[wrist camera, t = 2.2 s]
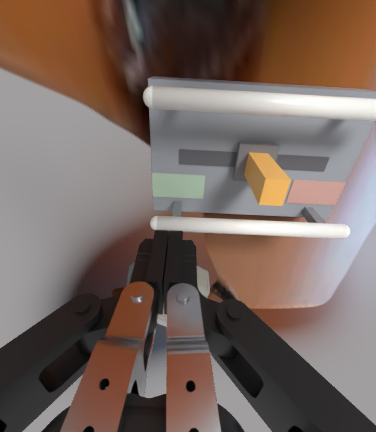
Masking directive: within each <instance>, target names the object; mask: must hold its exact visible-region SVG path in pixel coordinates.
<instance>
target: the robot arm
mask: <svg viewBox="0 0 376 432" xmlns="http://www.w3.org/2000/svg"><path fill="white" fill-rule="evenodd" d="M182 237H183V231H175V230H170V232H169V230H155V234H154V239H145V240H144V241H143V242H142V243H141V244H140V246H139V249H138V254H137V257H136V261H135V264H134V268H133V272H132V275H131V279H130V283H129V285H128V286H126V287H125V288H124V290H123V291H122V293H120V294H118V295H116V296H113V297H110V298H106V299H101V300H100V299H99V298H98V297H97V296H96V295H94V294H82V295H79V296H76V297H75V298H73V299H72V300H70V301H69V302H67V303H66V304H64V305H63V306H61V307H60V308H59V309H57V310H56V311H54V312H53V313H51V314H50V315H48V316H47V317H45V318H44V319H42V320H41V321H40V322H38V323H37V324H35V325H34V326H32V327H31V328H29V329H28V330H27V331H25V332H23V333H22V334H21V335H19V336H18V337H17V338H15V339H13V340H12V341H10V342H9V343H7V344H6V345H5V346H3V347H2V348H0V432H22V431H23V430H24V429H25V428H26V427H27V426H28V425H30V424H31V423H32V422H33V421H34V420H35V419H36V418H37V417H38V416H39V415H40V414H41V413H42V412H43V411H44V410H45V409H46V408H48V406H50V405H51V404H52V403H53V402H54V401H55V400H56V399H57V398H58V397H59V396H60V395H61V394H62V393H63V392H64V391H65V390H66V389H68V387H70V386H71V385H72V384H73V383H74V382H75V381H76V380H77V379H78V378H79V377H80V376H81V375H82V374H83V373H84V374H83V377H82V379H81V382H80V384H79V386H78V389H77V391H76V394H75V396H74V398H73V401H72V403H71V406H69V407H68V408H66V409H65V410H64V411H62V412H61V413H60V414H59V415H58V416H57V417H55V418H54V419H53V420H52V421H51V422H50V424H48V425H47V426H46V428H45V429H44V430H43V431H42V432H244V430H243V429H242V428H241V426H240V424H239V423H238V422H237V420H236V419H235V418H234V417H233V416H232V415H231V414H230V413H229V412H228V411H227V410H226V409H225V408H223V407H222V406H221V405H219V404H217V399H216V392H215V386H214V379H213V372H212V365H211V358H210V352H211V354H212V356H213V358H214V359H215V360H216V361H217V363H218V364H219V365H220V366H221V368H222V369H223V370H224V371H225V373H226V374H227V375H228V376H229V378H230V379H231V380H232V382H233V383H234V384H235V385H236V387H237V388H238V389H239V390H240V391H241V393H242V394H243V395H244V397H245V398H246V399H247V400H248V402H249V403H250V404H251V405H252V407H253V408H254V409H255V411H256V412H257V413H258V414H259V416H260V417H261V418H262V419H263V420H264V422H265V423H266V424H267V426H268V427H269V428H270V429H271V430H272V432H376V425H375V424H373V423H372V422H371V421H370V420H369V419H368V418H367V417H366V416H365V415H364V414H363V413H362V412H360V411H359V410H358V409H357V408H356V407H355V406H354V405H353V404H352V403H351V402H349V400H347V399H346V398H345V397H344V396H343V395H342V394H341V393H340V392H339V391H338V390H337V389H336V388H335V387H333V386H332V385H331V384H330V383H329V382H328V381H327V380H326V379H325V378H324V377H323V376H322V375H320V374H319V373H318V372H317V371H316V370H315V369H314V368H313V367H312V366H311V365H310V364H309V363H308V362H306V361H305V360H304V359H303V358H302V357H301V356H300V355H299V354H298V353H297V352H296V351H294V350H293V349H292V348H291V347H290V346H289V345H288V344H287V343H286V342H285V341H284V340H283V339H281V337H279V336H278V335H277V334H276V333H275V332H274V331H273V330H272V329H271V328H270V327H268V325H266V324H265V323H264V322H263V321H262V320H261V319H260V318H259V317H258V316H257V315H256V314H255V313H253V312H252V311H251V310H250V309H249V308H248V307H247V306H246V305H245V304H244V303H242V302H240V301H238V300H235V299H226V300H224V301H222V302H221V303H218V302H215V301H212V300H210V299H208V298H206V297H205V296H203V295H202V294H201V292H200V291H199V289H198V285H197V263H196V246H195V245H194V243H193V241H191V240H182ZM163 308H164V314H167V376H166V380H167V383H166V387H167V388H166V394H163V395H160V396H157V397H154V398H145V397H144V395H145V389H146V378H147V372H148V366H149V362H150V357H151V352H152V347H153V342H154V337H155V330H156V325H157V318H158V314H163Z"/></svg>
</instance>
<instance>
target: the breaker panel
mask: <svg viewBox="0 0 376 432" xmlns="http://www.w3.org/2000/svg"><path fill="white" fill-rule="evenodd" d="M143 100H144V103H145V104H146V105H147V106H148V107H149V117H150V140H151V164H152V189H153V190H152V191H153V210H158V211H173V212H172V216H154V217H153V218H152V219H151V220H150V226H151V228H152V229H154V230H169V231H170V230H175V231H183V232H200V233H223V234H245V235H268V236H291V237H314V238H337V239H344V238H346V237H348V236H349V234H350V229H349V227H348V226H346V225H344V224H330V223H326V222H325V221H324V220H323V219H322V218H328V217H329V215H330V213H331V211H332V209H333V207H334V205H335V204H336V202H337V200H338V198H339V196H340V194H341V192H342V190H343V188H344V186H345V184H346V180H347V178H348V176H349V174H350V172H351V170H352V168H353V166H354V164H355V162H356V160H357V158H358V156H359V154H360V151H361V149H362V147H363V145H364V143H365V141H366V139H367V137H368V135H369V133H370V131H371V129H372V127H373V125H374V123H375V122H376V91H373V90H367V89H358V88H342V87H325V86H308V85H291V84H275V83H258V82H241V81H224V80H208V79H191V78H174V77H157V76H153V77H151V78H148V87H147V88H146V89H145V91H144V93H143ZM239 142H256V143H275V144H279V145H280V149H279V153H278V156H277V160H276V163H277V164H278V165H279V166H280V168H281V169H282V170H283V171H284V172H285V173H286V175H287V176H288V177H289V178H290V179H291V182H290V185H289V188H288V191H287V194H286V197H285V200H284V203H283V206H271V205H259V204H258V202H257V200H256V198H255V196H254V194H253V192H252V190H251V188H250V186H249V184H248V182H245V181H233V178H232V177H233V172H234V166H235V160H236V155H237V149H238V143H239ZM182 212H201V213H223V214H245V215H267V216H288V217H305V219H306V220H307V221H308V222H286V221H264V220H242V219H220V218H195V217H181V213H182Z"/></svg>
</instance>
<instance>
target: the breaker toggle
mask: <svg viewBox="0 0 376 432" xmlns="http://www.w3.org/2000/svg"><path fill="white" fill-rule="evenodd" d="M279 149H280V145H279V144H275V143H256V142H239V143H238V149H237V155H236V160H235V166H234V172H233V177H232V178H233V181H245V182H248V184H249V186H250V188H251V190H252V192H253V194H254V196H255V198H256V200H257V202H258V204H259V205H271V206H283V203H284V200H285V197H286V194H287V191H288V188H289V185H290V182H291V179H290V178H289V177H288V176H287V175H286V173H285V172H284V171H283V170H282V169H281V168H280V166H279V165H278V164H277V163H276V160H277V156H278V153H279Z"/></svg>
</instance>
